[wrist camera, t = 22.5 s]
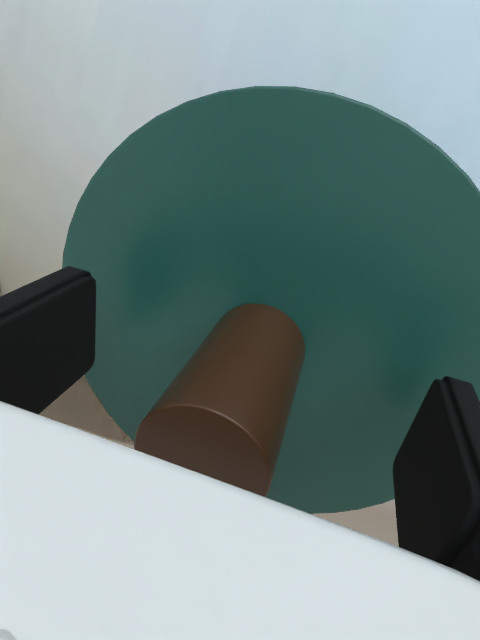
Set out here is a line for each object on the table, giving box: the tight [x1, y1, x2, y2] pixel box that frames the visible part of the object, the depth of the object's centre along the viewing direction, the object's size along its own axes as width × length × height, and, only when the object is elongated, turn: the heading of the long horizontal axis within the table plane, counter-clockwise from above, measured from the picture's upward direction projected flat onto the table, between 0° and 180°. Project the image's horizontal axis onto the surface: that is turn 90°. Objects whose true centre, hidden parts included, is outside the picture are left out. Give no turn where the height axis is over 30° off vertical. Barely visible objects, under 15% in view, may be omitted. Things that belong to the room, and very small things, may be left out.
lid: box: [62, 86, 480, 514], centre depth 10 cm, size 14×14×6 cm
